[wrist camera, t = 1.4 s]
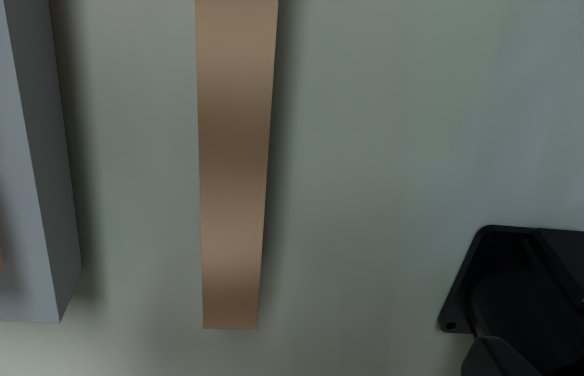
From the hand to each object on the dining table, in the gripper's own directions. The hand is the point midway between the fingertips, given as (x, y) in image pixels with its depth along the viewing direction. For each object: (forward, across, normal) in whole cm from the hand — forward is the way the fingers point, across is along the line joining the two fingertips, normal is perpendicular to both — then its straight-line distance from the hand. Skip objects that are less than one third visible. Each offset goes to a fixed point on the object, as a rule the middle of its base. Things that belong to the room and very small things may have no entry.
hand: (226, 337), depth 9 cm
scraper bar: (+11, 0, 0) cm, 11 cm away
